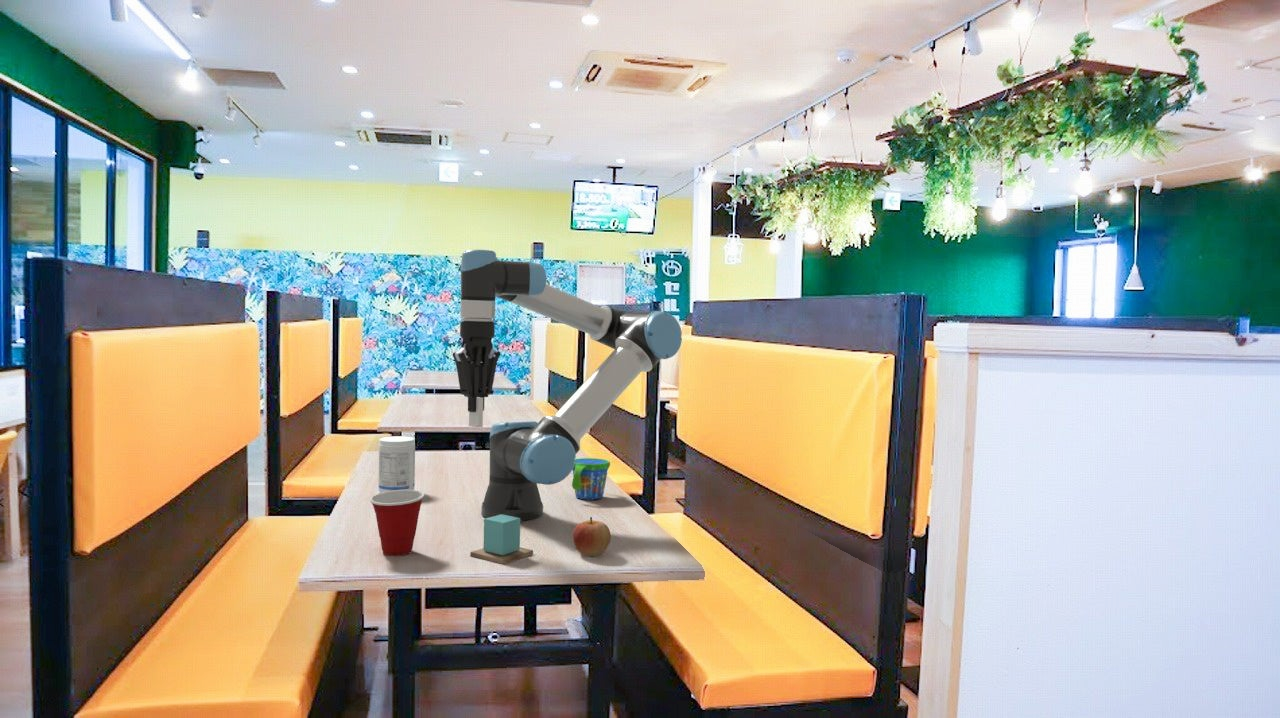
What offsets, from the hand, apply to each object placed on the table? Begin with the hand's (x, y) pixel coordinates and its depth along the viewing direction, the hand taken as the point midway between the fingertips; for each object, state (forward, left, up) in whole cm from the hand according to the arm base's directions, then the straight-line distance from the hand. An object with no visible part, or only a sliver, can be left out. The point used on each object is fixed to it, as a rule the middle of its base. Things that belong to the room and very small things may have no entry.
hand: (475, 426), depth 187 cm
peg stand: (+8, +16, -24) cm, 30 cm away
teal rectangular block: (+8, +16, -23) cm, 29 cm away
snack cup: (-48, -3, -25) cm, 54 cm away
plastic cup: (+20, -2, -25) cm, 32 cm away
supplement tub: (-19, -47, -25) cm, 56 cm away
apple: (-4, +30, -25) cm, 39 cm away
